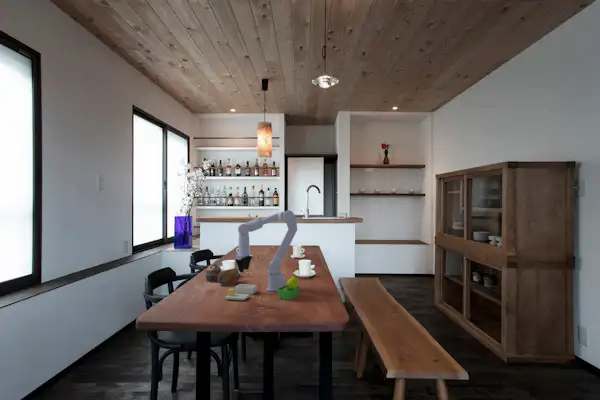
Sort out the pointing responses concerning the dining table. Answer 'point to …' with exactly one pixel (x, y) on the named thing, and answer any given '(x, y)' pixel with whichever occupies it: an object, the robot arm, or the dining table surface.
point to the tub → (245, 289)
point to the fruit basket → (289, 289)
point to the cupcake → (213, 273)
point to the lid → (236, 295)
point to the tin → (228, 276)
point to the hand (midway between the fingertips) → (244, 270)
